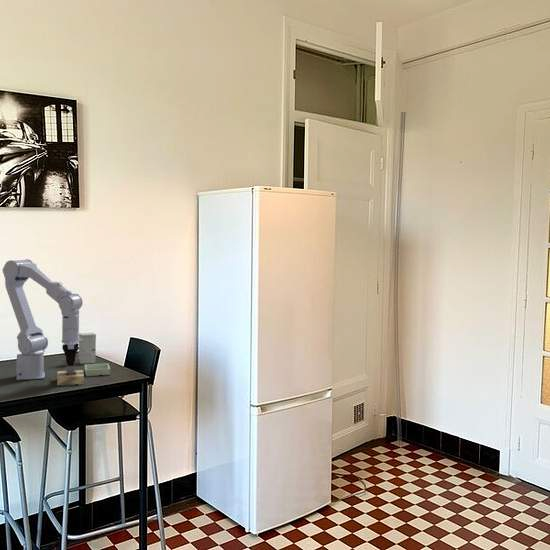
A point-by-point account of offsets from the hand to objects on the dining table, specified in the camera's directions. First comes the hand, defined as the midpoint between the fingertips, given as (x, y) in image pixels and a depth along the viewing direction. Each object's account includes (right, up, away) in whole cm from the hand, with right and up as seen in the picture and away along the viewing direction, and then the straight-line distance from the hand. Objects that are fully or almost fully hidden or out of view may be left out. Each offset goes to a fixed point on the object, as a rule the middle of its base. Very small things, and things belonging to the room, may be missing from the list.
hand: (70, 364), depth 214 cm
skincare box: (-4, -4, +31) cm, 31 cm away
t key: (0, -4, 0) cm, 4 cm away
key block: (0, -6, 0) cm, 6 cm away
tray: (+5, -5, +14) cm, 16 cm away
